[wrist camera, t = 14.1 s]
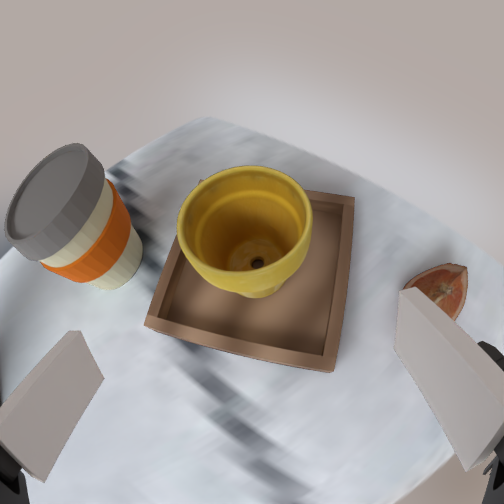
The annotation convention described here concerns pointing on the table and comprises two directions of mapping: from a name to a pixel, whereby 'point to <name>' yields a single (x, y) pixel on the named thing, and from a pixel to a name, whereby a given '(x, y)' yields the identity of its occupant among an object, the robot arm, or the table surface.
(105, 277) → the reusable coffee cup
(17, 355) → the table surface
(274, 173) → the plant pot
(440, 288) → the fruit slice
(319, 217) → the walnut tray
